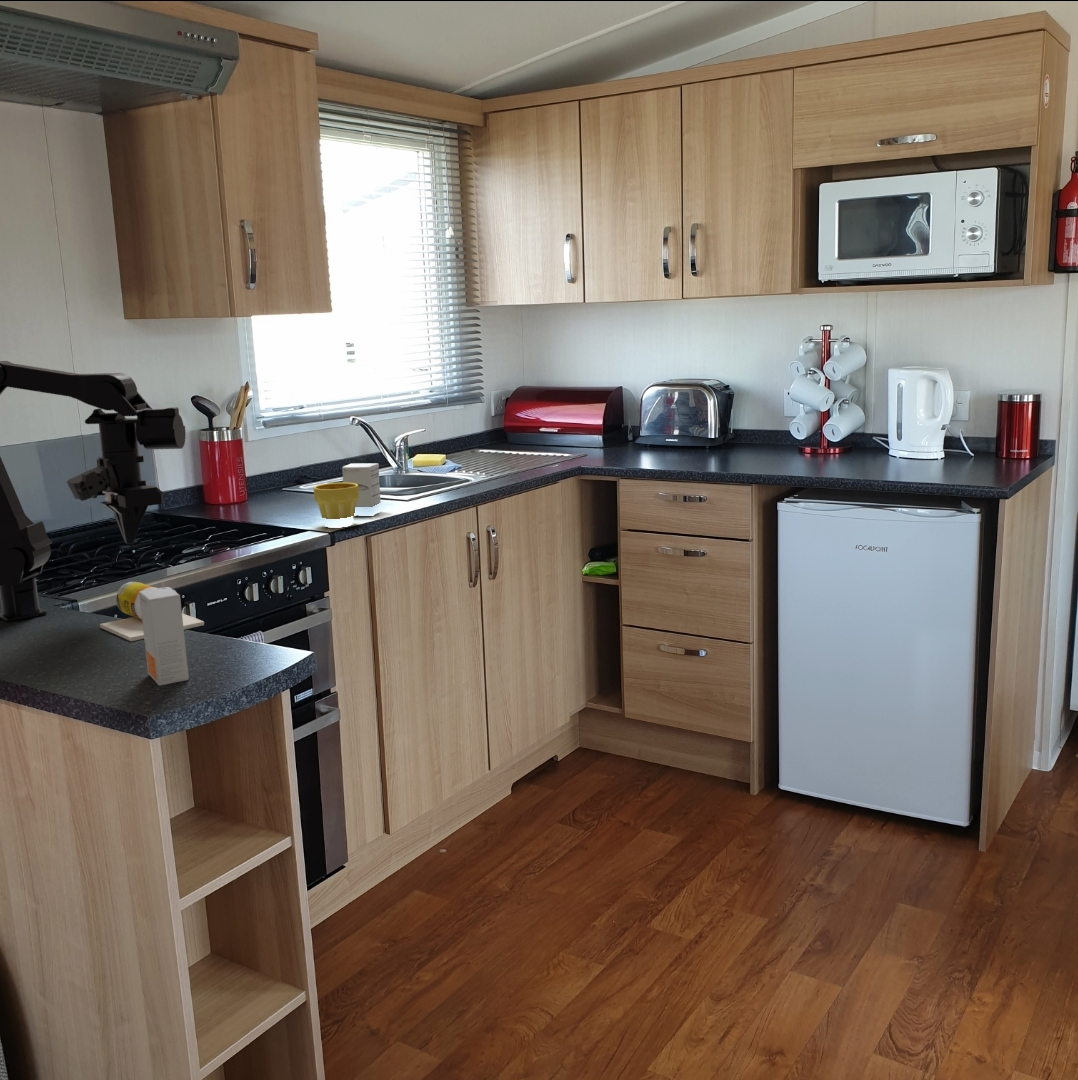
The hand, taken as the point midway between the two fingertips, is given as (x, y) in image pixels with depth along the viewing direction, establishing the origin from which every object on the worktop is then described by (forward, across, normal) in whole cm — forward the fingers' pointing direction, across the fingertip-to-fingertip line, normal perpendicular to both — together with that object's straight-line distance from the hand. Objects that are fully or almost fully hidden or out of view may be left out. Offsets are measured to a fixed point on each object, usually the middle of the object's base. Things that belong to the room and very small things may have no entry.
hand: (129, 543), depth 185 cm
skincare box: (+12, +40, -11) cm, 43 cm away
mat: (+12, +12, -2) cm, 17 cm away
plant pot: (+12, -44, +65) cm, 79 cm away
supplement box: (+12, -53, +78) cm, 95 cm away
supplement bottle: (+8, +3, -2) cm, 9 cm away
